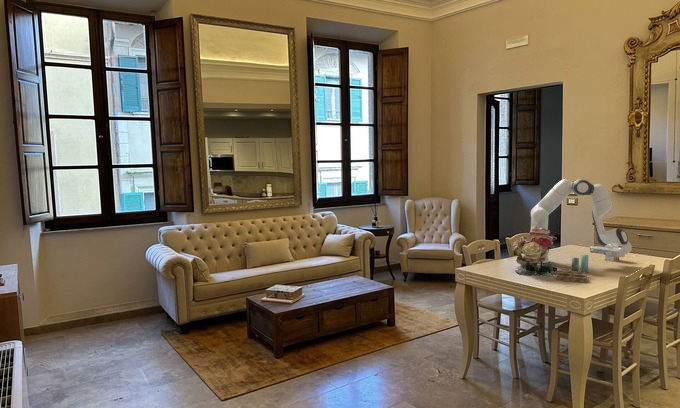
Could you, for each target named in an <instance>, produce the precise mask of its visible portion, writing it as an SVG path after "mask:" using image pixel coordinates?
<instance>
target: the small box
mask: <svg viewBox="0 0 680 408" xmlns="http://www.w3.org/2000/svg"><path fill="white" fill-rule="evenodd" d="M604 260H605V261H609V262H616V261H619V260H620V257H609V256H607V255H604Z"/></svg>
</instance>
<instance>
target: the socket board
mask: <svg viewBox="0 0 680 408" xmlns="http://www.w3.org/2000/svg"><path fill="white" fill-rule="evenodd" d="M556 280H557V281H565V282H573V283H574V282H575V283H586V284H587V283H588V274H584V273H583V274H571V273H560V272H559V271H558V272H557V274H556Z"/></svg>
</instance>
